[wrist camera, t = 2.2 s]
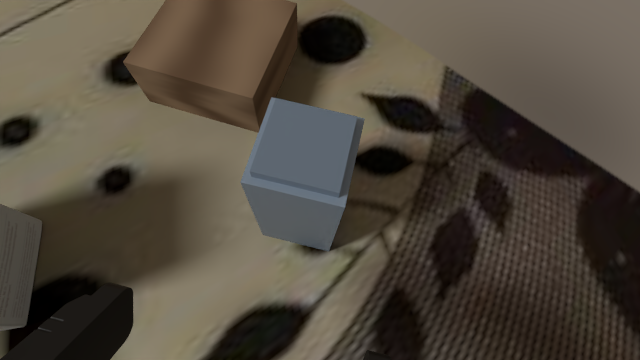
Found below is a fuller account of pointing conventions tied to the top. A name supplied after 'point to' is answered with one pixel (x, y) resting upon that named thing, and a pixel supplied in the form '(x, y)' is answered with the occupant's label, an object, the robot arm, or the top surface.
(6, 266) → the supplement box
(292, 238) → the pale blue upright prism
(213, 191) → the top surface
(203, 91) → the walnut box
